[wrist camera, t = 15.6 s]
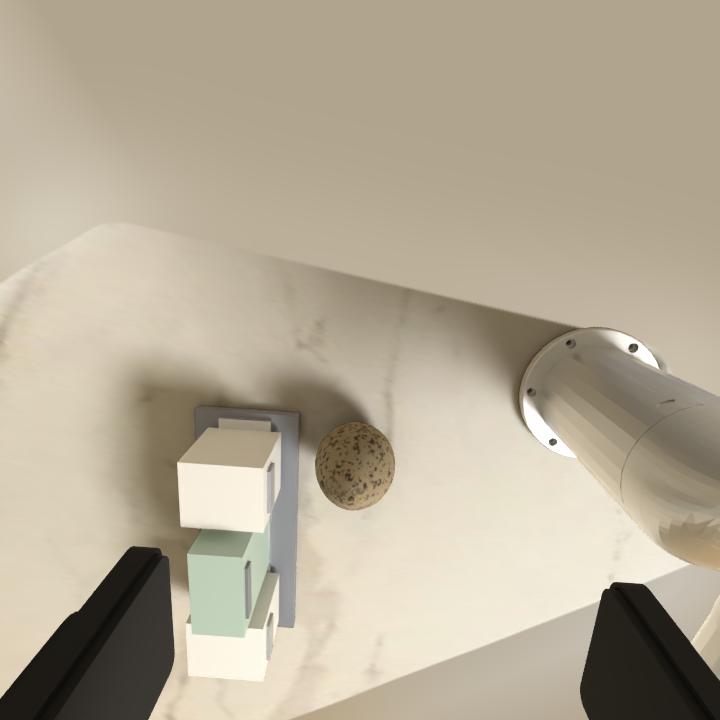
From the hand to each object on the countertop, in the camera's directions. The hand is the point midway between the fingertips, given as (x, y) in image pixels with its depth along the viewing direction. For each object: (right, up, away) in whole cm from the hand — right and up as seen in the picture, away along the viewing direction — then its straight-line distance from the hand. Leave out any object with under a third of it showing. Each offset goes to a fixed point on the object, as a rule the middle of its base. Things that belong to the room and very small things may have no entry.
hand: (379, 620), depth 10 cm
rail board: (-12, -11, +38) cm, 41 cm away
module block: (-12, -12, +36) cm, 40 cm away
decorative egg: (-1, -3, +35) cm, 36 cm away
